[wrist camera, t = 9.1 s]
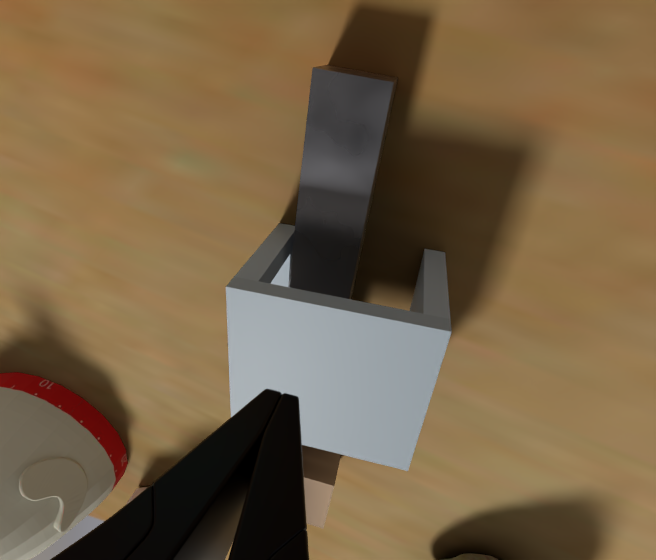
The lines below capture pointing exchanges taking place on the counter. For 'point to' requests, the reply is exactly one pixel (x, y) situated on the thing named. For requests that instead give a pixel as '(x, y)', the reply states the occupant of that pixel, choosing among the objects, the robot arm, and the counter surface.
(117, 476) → the kitchen timer
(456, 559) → the grey rounded lump
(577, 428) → the counter surface
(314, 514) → the block
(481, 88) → the counter surface
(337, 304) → the tunnel
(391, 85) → the bar
